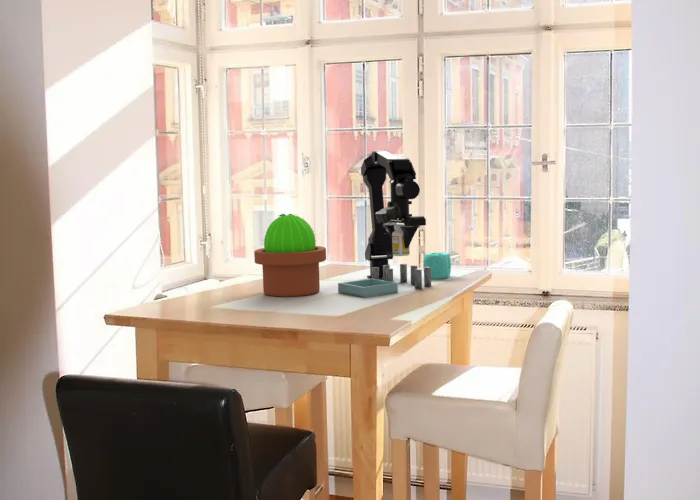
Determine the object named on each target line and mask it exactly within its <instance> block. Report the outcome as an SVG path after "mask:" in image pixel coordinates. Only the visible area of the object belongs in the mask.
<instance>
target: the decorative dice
mask: <svg viewBox="0 0 700 500" xmlns="http://www.w3.org/2000/svg"><path fill="white" fill-rule="evenodd" d="M424 267H431V280H438V279H439V280H442V279H441V278H444V279H449V278H450V276H451V272H452V270H451V269H452V260H451V255H450V253H448V252H428V253H425V254H424V258H423V268H424ZM448 277H449V278H448Z"/></svg>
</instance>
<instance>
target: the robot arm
mask: <svg viewBox="0 0 700 500" xmlns="http://www.w3.org/2000/svg"><path fill="white" fill-rule="evenodd" d="M360 173H361V174H360V176H362V181H363V183H364V185H365V186H366V187H367V188H368V197H369V208H370V219H371V231H370V232H371V233H370V234H369V236H368V239H367V240H368V242H367V244H366V249H365V251H364V258H365V261H366V260H367V261H369V271H370V272H369V274H370V275H366V278H368V279H372V268H373V267H379V280H381V279H383V265H390V263H389V260H393V259H394V256H393V249H392V233H393V232H394V231H395V229H394V225H398V224H404V225H405V226H403V227H400V228H401V229H402V231H403V233H404V245H405V248H408V247H409V248H410V245H411V244H412V240H413V239H414V236H415V235H416V232H417V230H418V228H420V227H421V226H427V218H425V216H424V215H413V214H412V213H410V205H412V204H413V201H412V200H414V199H417V197H419V195H420V191H421V189H420V186H419V184H418V183H417V182H416V181H415V180H416V179H417V173H416V170H415V168H414V166H413V162H412V161H411V160H410V158H409V157H397V156H395V155H393V154H392V153H390V152H389V151H388V150H386V149H377V150H375V149H374V151H372V152H371V154H370V155H368V156H367V157H366V158H365V159H364V160H363V161H362V164H361V166H360ZM387 175H388V177H389V184H390V185H389V187H390V189H389V190H390V200H389V201H387V205H386V207H385V205H384V192H383V185H384V184H385V182H386V180H387Z"/></svg>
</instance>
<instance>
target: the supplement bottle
mask: <svg viewBox="0 0 700 500" xmlns="http://www.w3.org/2000/svg"><path fill="white" fill-rule="evenodd" d="M397 224H398V225H394V229H395V231H394V232H393V233H392V249H393V257H406V256H410V246H409V247H408V248H405V245H404V233H403V231H402V229H401V228H400V227H403V226H405V225H404V223H397Z"/></svg>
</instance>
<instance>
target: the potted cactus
mask: <svg viewBox="0 0 700 500" xmlns="http://www.w3.org/2000/svg"><path fill="white" fill-rule="evenodd" d="M314 232H315V230H314V229H313V227H311V224H309V222H308V221H306V220H305V218H303V217H300V216H298V214H293V213H288V214H287V215H286V214H285V213H281V214H280V215H277V218H276V219H275V218H274V220H272V222H271V223H269V226H268V227H267V230H266V231H265V235H264V239H262V240H263V241H262V242H263V248H262V247H261V248H258V249H255V250H254V251H253V252H254V263H255V264H256V265H262V266H261V267H262V285H263V286H262V287H263V288H262V289H263V294H264V295H266V296H269V297H270V296H271V297H279V298H280V297H282V298H283V297H285V298H287V297H302V296H310V295H314V294H316V293H318V292H319V291H320V290H321V289H320V287H321V285H320V263H322V262H325V261H326V260H327V248H326V247H325V246H321V245H317V244H316V243H317V239H316V234H317V233H316V234H315V233H314Z"/></svg>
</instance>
